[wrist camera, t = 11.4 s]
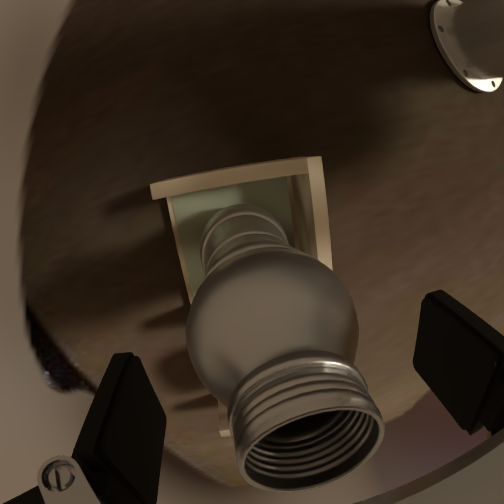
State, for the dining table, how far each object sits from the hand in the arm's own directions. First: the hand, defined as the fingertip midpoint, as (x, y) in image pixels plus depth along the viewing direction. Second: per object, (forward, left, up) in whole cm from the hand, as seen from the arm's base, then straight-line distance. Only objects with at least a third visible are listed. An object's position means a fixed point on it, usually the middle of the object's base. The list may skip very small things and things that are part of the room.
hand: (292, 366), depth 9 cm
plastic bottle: (0, 0, -17) cm, 17 cm away
